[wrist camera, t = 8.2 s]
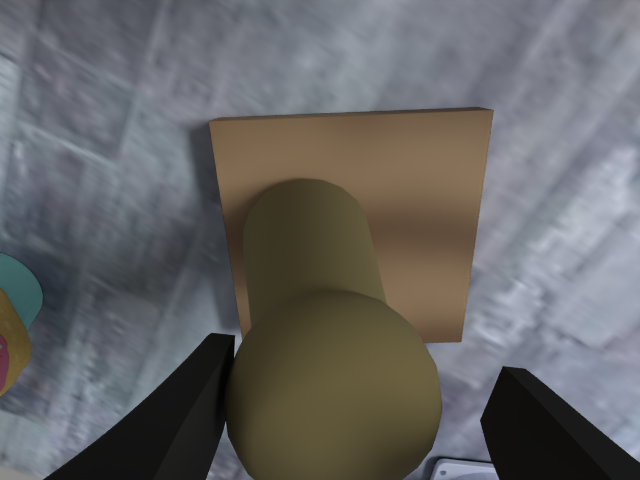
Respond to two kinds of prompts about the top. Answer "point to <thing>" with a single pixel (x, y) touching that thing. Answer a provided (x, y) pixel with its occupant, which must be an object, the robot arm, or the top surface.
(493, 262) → the top surface
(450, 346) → the top surface
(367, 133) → the walnut board
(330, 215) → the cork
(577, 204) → the top surface
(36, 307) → the cupcake
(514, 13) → the top surface
